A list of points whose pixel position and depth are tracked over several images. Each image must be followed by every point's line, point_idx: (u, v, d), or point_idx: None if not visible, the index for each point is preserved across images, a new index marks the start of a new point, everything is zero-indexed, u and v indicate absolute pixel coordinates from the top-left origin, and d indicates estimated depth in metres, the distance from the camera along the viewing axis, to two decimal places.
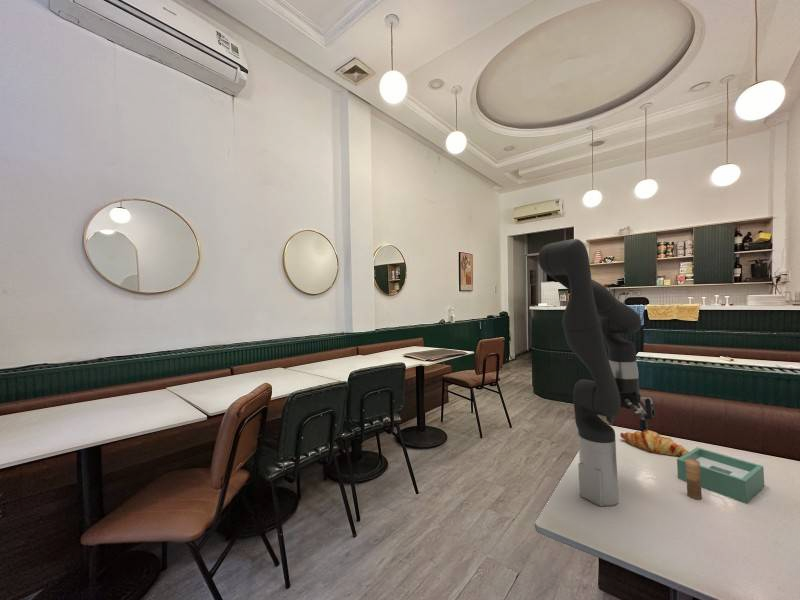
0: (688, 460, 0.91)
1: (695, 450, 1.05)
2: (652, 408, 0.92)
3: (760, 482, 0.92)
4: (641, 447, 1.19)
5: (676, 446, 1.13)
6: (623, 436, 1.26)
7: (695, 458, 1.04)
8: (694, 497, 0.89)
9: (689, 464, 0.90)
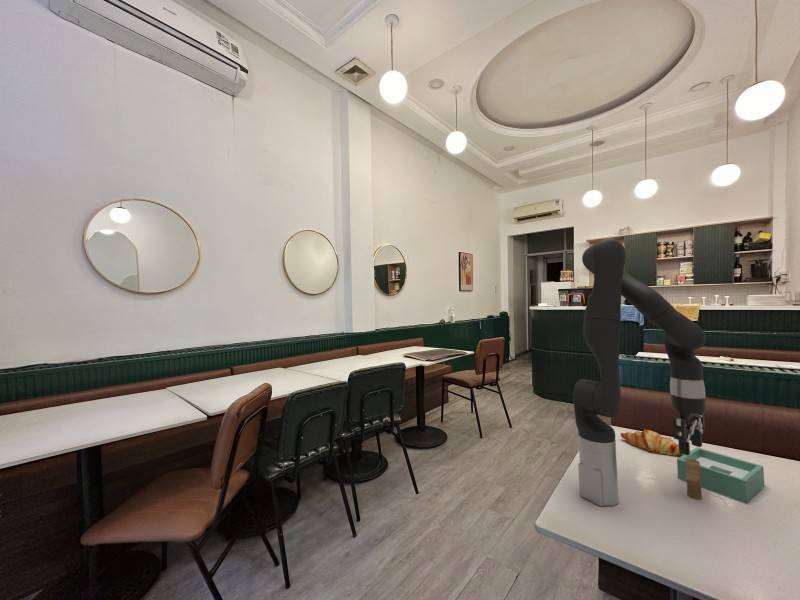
0: (688, 460, 0.91)
1: (695, 450, 1.05)
2: None
3: (760, 482, 0.92)
4: (641, 447, 1.19)
5: (676, 446, 1.13)
6: (623, 436, 1.26)
7: (695, 458, 1.04)
8: (694, 497, 0.89)
9: (689, 464, 0.90)
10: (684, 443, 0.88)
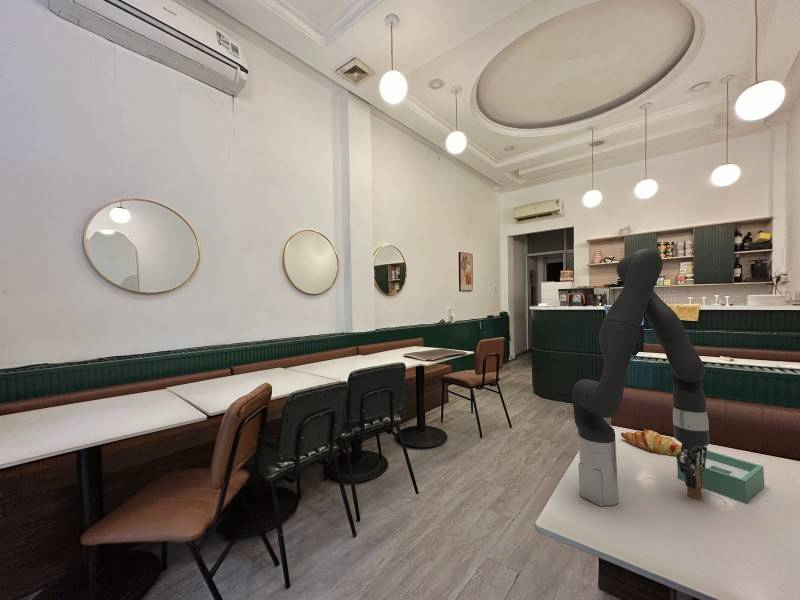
0: None
1: None
2: None
3: (760, 482, 0.92)
4: (641, 447, 1.19)
5: (676, 446, 1.13)
6: (623, 436, 1.26)
7: None
8: (694, 497, 0.89)
9: None
10: (691, 477, 0.89)
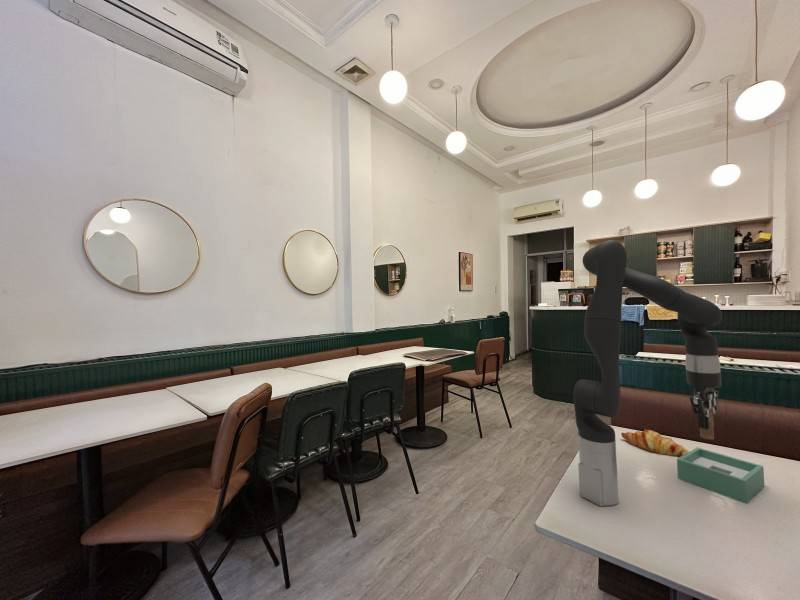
0: None
1: (695, 450, 1.05)
2: None
3: (760, 482, 0.92)
4: (641, 447, 1.19)
5: (676, 446, 1.13)
6: (624, 436, 1.26)
7: (695, 458, 1.04)
8: (707, 437, 0.93)
9: None
10: (704, 418, 0.93)
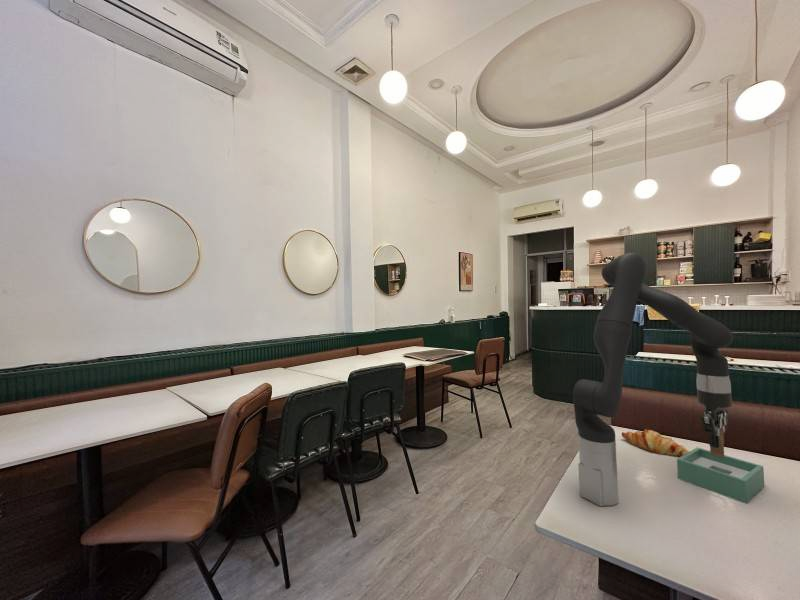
0: None
1: (695, 450, 1.05)
2: None
3: (760, 482, 0.92)
4: (641, 446, 1.19)
5: (676, 446, 1.13)
6: (624, 435, 1.26)
7: (695, 458, 1.04)
8: (717, 455, 0.96)
9: None
10: (714, 437, 0.95)
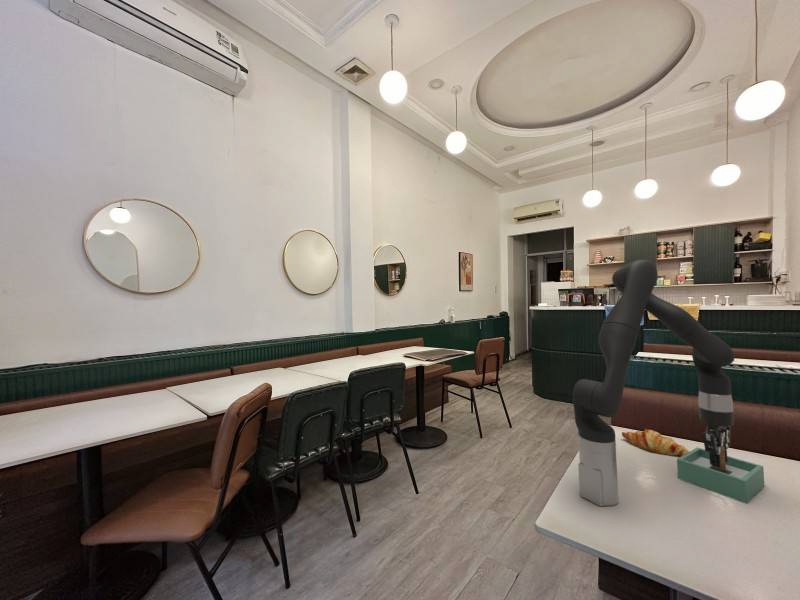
0: None
1: (695, 450, 1.05)
2: None
3: (760, 482, 0.92)
4: (641, 446, 1.19)
5: (676, 446, 1.13)
6: (624, 435, 1.26)
7: (695, 458, 1.04)
8: None
9: None
10: (715, 455, 0.94)
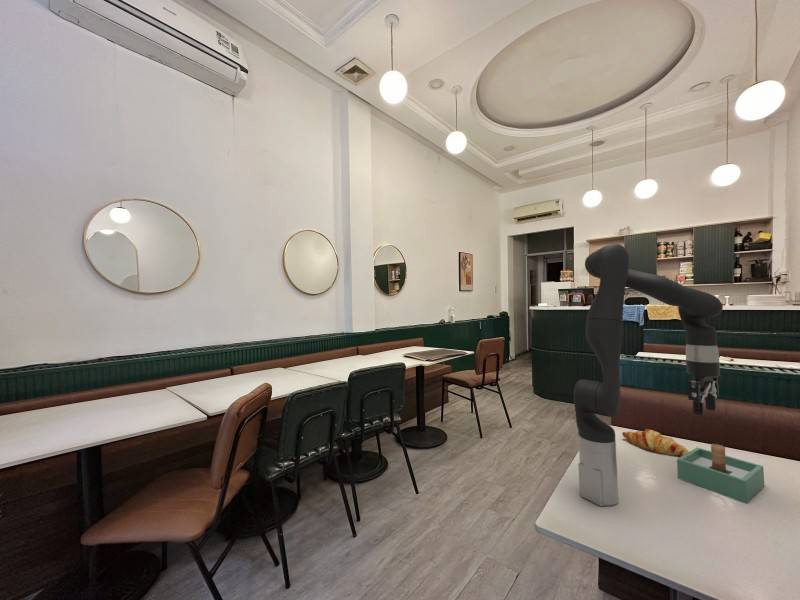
0: (713, 445, 0.97)
1: (695, 450, 1.05)
2: None
3: (760, 482, 0.92)
4: (641, 446, 1.20)
5: (677, 446, 1.13)
6: (625, 435, 1.27)
7: (695, 458, 1.04)
8: None
9: (715, 448, 0.96)
10: (698, 404, 0.95)
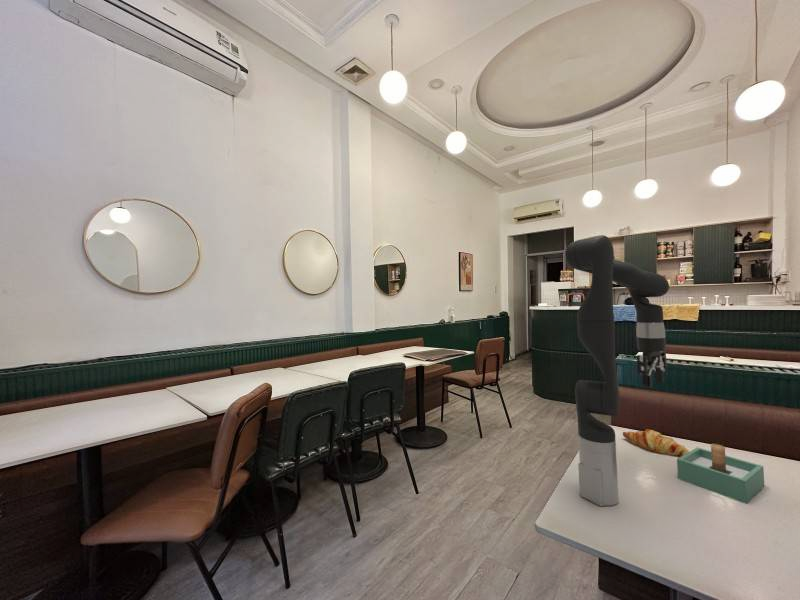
0: (713, 445, 0.97)
1: (695, 450, 1.05)
2: None
3: (760, 482, 0.92)
4: (642, 446, 1.20)
5: (677, 446, 1.13)
6: (625, 435, 1.27)
7: (695, 458, 1.04)
8: None
9: (715, 448, 0.96)
10: (646, 376, 1.02)
